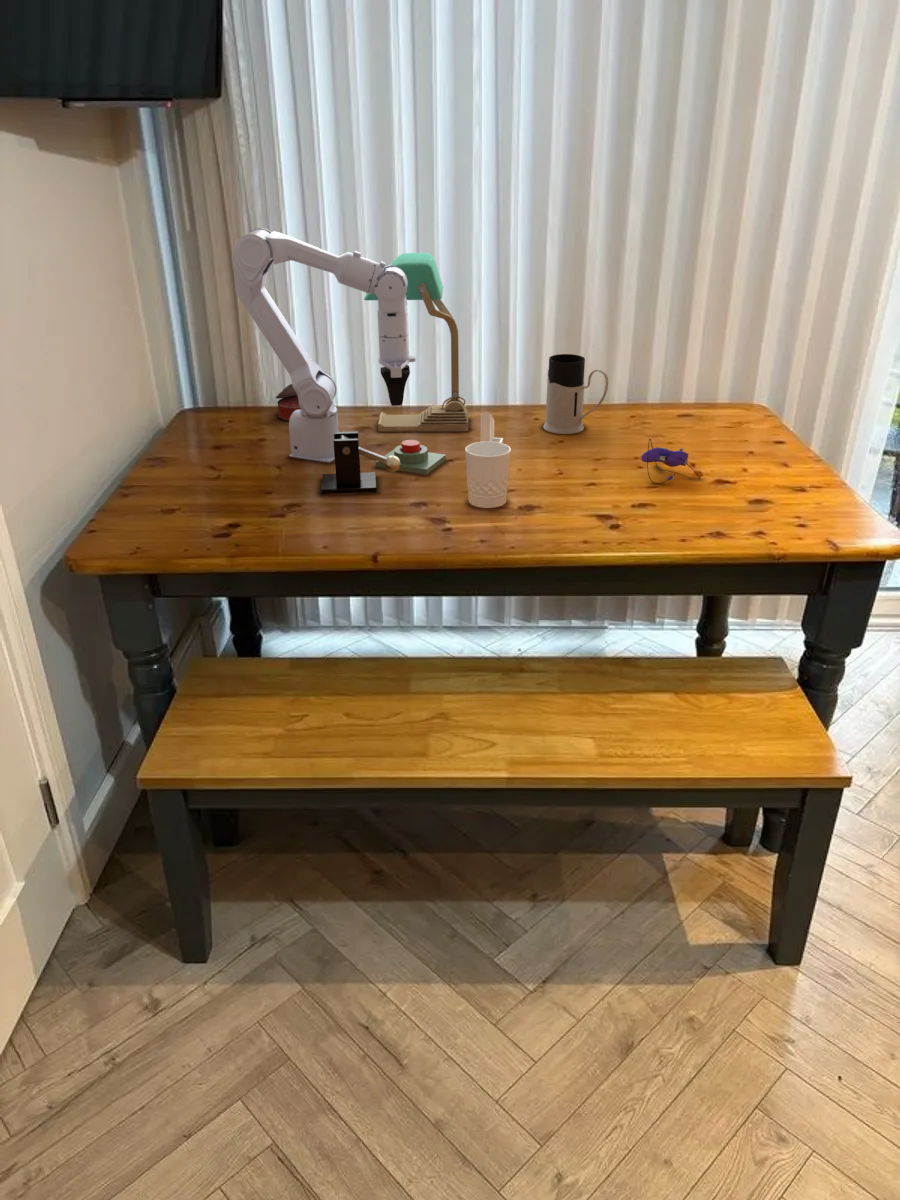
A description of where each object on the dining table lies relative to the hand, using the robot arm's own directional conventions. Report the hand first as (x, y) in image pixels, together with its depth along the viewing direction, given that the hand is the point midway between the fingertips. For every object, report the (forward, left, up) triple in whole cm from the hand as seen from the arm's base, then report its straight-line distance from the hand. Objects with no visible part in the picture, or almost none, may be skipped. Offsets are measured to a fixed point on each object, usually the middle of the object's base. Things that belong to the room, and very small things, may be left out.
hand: (396, 404), depth 186 cm
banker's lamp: (-4, +19, -11) cm, 22 cm away
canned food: (-33, +16, -11) cm, 38 cm away
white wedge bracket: (+18, +6, -11) cm, 22 cm away
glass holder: (+28, +29, -11) cm, 42 cm away
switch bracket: (-1, -19, -10) cm, 22 cm away
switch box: (+5, -4, -10) cm, 12 cm away
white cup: (+26, -16, -11) cm, 32 cm away
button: (+5, -4, -8) cm, 10 cm away
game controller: (+53, +9, -11) cm, 55 cm away
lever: (+2, -17, -6) cm, 18 cm away
